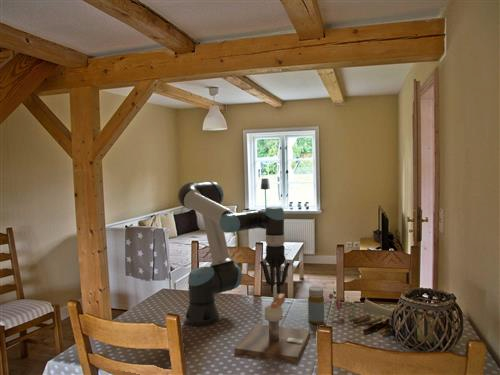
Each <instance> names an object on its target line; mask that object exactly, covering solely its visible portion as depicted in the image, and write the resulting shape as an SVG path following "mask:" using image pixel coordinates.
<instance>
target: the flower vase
mask: <svg viewBox="0 0 500 375" xmlns="http://www.w3.org/2000/svg"><path fill="white" fill-rule="evenodd" d="M332 290H333V292H331V293H329V295H328V298H329V299H330V300H333V299H334V303H335V307H336V310H338V311H339V312H340V311H341V309H342V307H343V304H342V301H341V300H343V301H344V302H345V303H347V304H345V306H346V307H348V306H349V307H352V308H354V307H356V308H362V309H359V311H361V310H362V313H364V314H371V315H372V314H373V315H378V316H384V317H386V318H389V317H390V315H391V313H392V312H393V310H394V309H392V308H387V307H383V306H381V305H379V304H377V303H375V302H372V301H370V300H368V299H365V300H364V303H363V306H358V305H357V304H355V303H354V302H353V301H351V302H349V296H347V297H346V298H347V300H345V299H344V298H341V297H338V294H337V292H336V291H335V289H334V288H332ZM334 295H336V296H334ZM356 313H357V312H355V311H354V309H352V310H351V312H350V313H349V316H351V317H352V319H354V318H353V316H354V315H355V314H356Z"/></svg>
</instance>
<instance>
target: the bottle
mask: <svg viewBox="0 0 500 375" xmlns="http://www.w3.org/2000/svg"><path fill="white" fill-rule="evenodd" d="M307 300H308V301H307V309H308V310H307V312H308V313H307V314H308V315H307V318H308V322H309V323H311V324H313V325H321V324H323V323H325V298H324V288H323V287H321V286H310V287H309V288H308V298H307Z"/></svg>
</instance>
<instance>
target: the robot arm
mask: <svg viewBox="0 0 500 375" xmlns="http://www.w3.org/2000/svg"><path fill="white" fill-rule="evenodd" d="M224 196H225V195H224V190H223V188H222V186H221V185H220V184H219V183H218V182H216V181H208V180H207V181H200V182H187V183H185V184H184V185H182V186H181V187H180V189H179V191H178V193H177V198H178V201H179V204H180V205H181V206H182V207H183V208H185V209H187V210H190V211H195V212H197V213H199V214H201V216H202V219H203V224H204V229H205V235H206V239H207V243H208V247H209V251H210V257H211V264H210V266H200V267H196V268H194V269H192V270H191V271H190V272H189V274H188V281H187V283H188V306H187V310H186V314H185V323H186V324H187V325H189V326H193V327H206V326H207V327H208V326H211V325H214V324H216V323H218V322H219V319H220V313H219V311H218V307H217V306H216V303H215V301H216V300H215V298H216V297H215V296H216V295H218V294H221V293H225V292H228V291H232V290H235V289H237V288H238V287H240V285H241V283H242V279H243V273H242V269H241V267H240V266H239V265H238V263H237V264H236V263H235V261H234V259H233V258H231V257H230V252H229V249H228V243H227V239H226V235H225V233H227V234H228V233H231V234H232V233H236V232H241V231H249V230H255V229H262V230H263V229H264V230H265V244H266V246H265V254H266V255H265V256H264V259H262V260H261V261H260V262H259V264H260V266H261V267H262V271H263V275H264V277H265V282H266V283H265V284H267V285H270V293H271V294H272V297H273V299H272V300H273V301H274V300H275V299H276V298H277V297H278V295H279V294H281V289H282V288H281V286H283V285H285V283H286V281H287V276H288V275H287V274H288V272H289V271H288V270H289V268H290V266H291V265H292V261H290V260H287V258H286V255H285V245H284V244H285V214H284V208H283V207H281V206H267V207H266V208H265V210H261V209H260V210H258V209H248V210H247V211H243V212H242V211H241V212H240V211H239V212H236V211H234V210H231V209H230V208H228V207H226V206H224V205H222V204H221V203H222V202H223V201H224ZM283 264H284V268H283V273H282V276H281V272H282V271H281V270H282V266H283ZM268 266H269V268H268ZM269 270H270V272H269ZM273 301H272V302H273Z"/></svg>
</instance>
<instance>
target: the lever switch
mask: <svg viewBox="0 0 500 375" xmlns="http://www.w3.org/2000/svg"><path fill="white" fill-rule="evenodd" d="M285 296H286V294H285V293H280V294H278V297H277V298H276V299H275V300H274V301H272V302H271V303H270V305H266V306H265V307H264V319H265V321H267V322H269V321H270V322H277V321H279V322H281V321H282V320H283V318H284V317H283V315H284V314H283V313H284V312H283V311H284V310H283V307H282V305H284V303H285V302H286V297H285Z"/></svg>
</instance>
